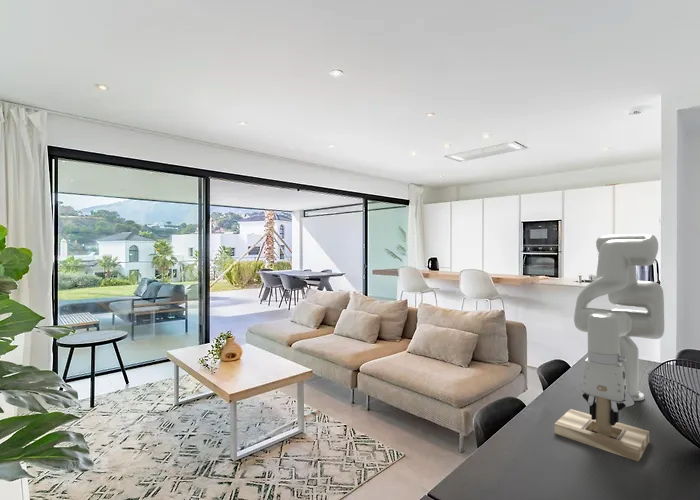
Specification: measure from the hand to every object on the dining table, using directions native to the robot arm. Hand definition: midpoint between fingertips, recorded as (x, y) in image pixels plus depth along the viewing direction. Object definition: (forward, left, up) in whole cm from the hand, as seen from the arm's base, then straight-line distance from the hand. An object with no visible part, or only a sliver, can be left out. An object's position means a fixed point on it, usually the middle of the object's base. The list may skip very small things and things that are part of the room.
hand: (603, 420), depth 106 cm
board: (-1, -1, -6) cm, 6 cm away
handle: (0, 0, -4) cm, 4 cm away
